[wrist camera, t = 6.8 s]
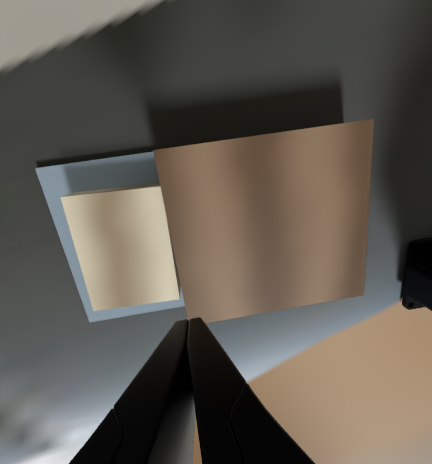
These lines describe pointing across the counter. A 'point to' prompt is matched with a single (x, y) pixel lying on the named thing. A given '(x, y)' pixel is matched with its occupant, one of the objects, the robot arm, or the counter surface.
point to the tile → (123, 245)
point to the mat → (96, 178)
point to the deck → (269, 218)
